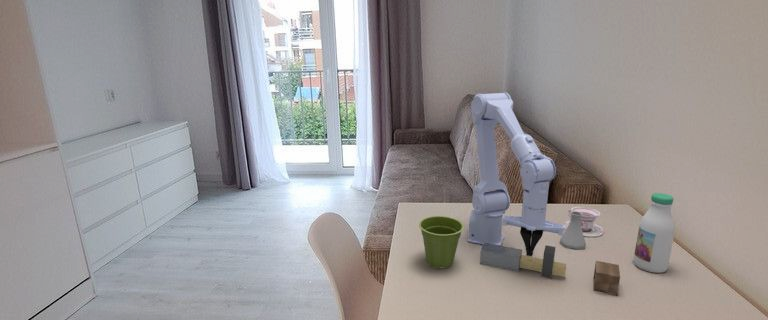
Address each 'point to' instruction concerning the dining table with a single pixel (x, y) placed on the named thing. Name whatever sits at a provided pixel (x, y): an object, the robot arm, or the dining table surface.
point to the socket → (606, 278)
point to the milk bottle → (655, 235)
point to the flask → (574, 233)
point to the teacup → (587, 221)
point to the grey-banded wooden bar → (544, 263)
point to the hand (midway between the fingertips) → (529, 254)
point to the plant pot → (440, 239)
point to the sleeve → (500, 257)
